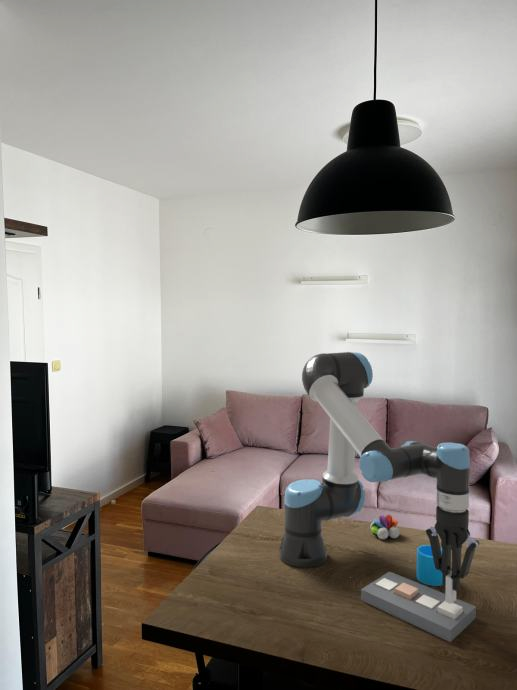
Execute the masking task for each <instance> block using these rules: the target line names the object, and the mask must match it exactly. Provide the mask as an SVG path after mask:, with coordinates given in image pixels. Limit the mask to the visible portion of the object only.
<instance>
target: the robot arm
mask: <svg viewBox="0 0 517 690" xmlns="http://www.w3.org/2000/svg"><path fill="white" fill-rule="evenodd" d="M373 375H374V374H373V369H372V365H371V362H370V361H369V359H368V358H367V356H365V355H364V354H362V353H360V352H354V351H353V352H352V351H343V352H332V353H331V352H329V353H323V352H322V353H319V354H315V355H313V356H312V357H310V359H308V360H307V362H306V363H305V364H304V366H303V368H302V373H301V381H302V385H303V389H304V390H305V392H306V394H307V396H309V398H310V399H311V400H313V401H314V402H318V404H319V405H320V407H321V408H322V409H323V410H324V411H325V413H326V414H327V416H328V417H329V430H328V431H329V434H328V435H329V436H328V450H327V451H328V452H327V453H328V454H327V455H328V456H327V469H326V470H325V471H324V472H323V473H322V476H321V477H322V479H321V480H322V481H319V480H316V479H311V478H308V479H305V478H304V479H299V480H298V479H297V480H296V481H293V482H291V483H289V484H288V486H286V488H285V491H284V532H283V533H284V534H283V537H282V539H281V543H280V546H279V555H278V557H279V559H280V560H281V561H282V562H283V563H284V564H287V565H289V566H292V567H295V568H296V567H297V568H313V567H318V566H321V565H323V564H324V563H326V561H327V559H328V549H327V546H326V544H325V540H324V536H323V531H322V530H323V529H322V527H323V522H327V521H330V520H331V521H333V520H336V519H341V518H348V517H351V516H353V515H356V514H358V513H360V512H361V510H362V509H363V508H364V505H365V502H366V501H365V500H366V492H365V489H364V485H363V484H362V481H360V479H359V476H358V474H356V473H355V463H356V462H355V461H356V454H357V455H358V456H360V457H359V462H358V464H359V465H358V466H359V467H358V468H359V469H360V470H361V475H362V477H363V478H364V480H366V481H368V482H370V483H381V482H383V483H385V482H388V481H392V480H396V479H401V478H408V477H413V476H419V475H425V476H428V477H430V478H433V479H436V497H435V499H436V503H435V504H436V505H437V506H436V508H435V520H436V521H435V524H434V526H430V527H429V528H427V529H426V530H425V533H426V536H427V538H428V539H429V545H431V550H432V555H433V560H434V565H435V568H436V569H437V570H440V571H441V572H442V584H443V585H442V586H443V587H445V592H444V594H445V602H447V603H450V604H452V603H453V602H454V601H455V600H456V599H457V592H458V591H459V589H460V587H461V579H465V578H466V577H467V576H468V575H469V573H470V568H471V565H472V561H473V558H474V555H475V551H476V549H477V548H478V547H479V546H480V542H479V540H475V539H473V537H471V532H470V531H469V522H470V521H469V520H470V519H469V518H470V515H469V514H470V511H469V509H470V473H471V472H470V471H471V469H470V468H471V460H470V459H471V458H470V457H471V456H470V449H469V448H468V446H466V445H465V444H463V443H458V442H457V443H455V442H451V441H450V442H442V443H438V445H437V446H432V445H429V444H427V443H426V444H425V443H424V442H421V441H414V440H407V441H406V442H404V444H402V445H401V446H399V447H390V445H389V444H388V443H387V442H386V441H385V440H384V439H383V437H382V436H381V435H380V434H379V433H378V432H377V430H376V429H375V428H374V427H373V425H372V424H371V423H370V422H369V420H368V419H366V418H365V416H364V415H363V414H362V412H361V411H360V410H359V401H360V400H361V399H362V398H363V397H364V391H365V389H366V388H368V387H370V385H371V384H372V381H373V377H374V376H373ZM464 543H466V547H467V548H466V549H465V553H464V556H463V560H462V548H463V544H464ZM441 548H442V552H441Z"/></svg>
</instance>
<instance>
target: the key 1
mask: <svg viewBox="0 0 517 690" xmlns="http://www.w3.org/2000/svg"><path fill="white" fill-rule="evenodd" d="M375 586H378V587H380V588H382V589H385V590H387V591H389V592H390V591H392V590H393V589H395V588H396V587H398V584H397V583H395V582H393V581H390V580H388V579H385V578H383V579H382V580H380V581H379V582H377V583H376V584H375Z"/></svg>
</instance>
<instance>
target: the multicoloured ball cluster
mask: <svg viewBox="0 0 517 690" xmlns="http://www.w3.org/2000/svg"><path fill="white" fill-rule="evenodd" d="M378 518H379V519H378V520H379V521H378V520H377V519H375V518H374V519H373V522H371V524H370V527H369V528H370V531H371V532H372V533H373V534H376V535H377V537H378V539H379V540H386V539H387V538H388V537H389V538H391V539H397V538H398V537H399V536H400V529H399V528H398V527H397V526H398V523H399V522H398V520H397V519H394V518H393V516H392V515H391V514H387V515H383V514H380V515H379V517H378Z"/></svg>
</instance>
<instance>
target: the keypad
mask: <svg viewBox="0 0 517 690" xmlns="http://www.w3.org/2000/svg"><path fill="white" fill-rule="evenodd" d="M383 578H385V579H388V580H390V581H393V582H395V583H397V584H398V586H399V585H401V584H402V583H406V584H408V585H411V586H413V587H416V588H418V595H417V596H416V597H414V598H413V599H412V600H407V599H405V598H403V597H401V596H398V595H396V594H395V589H393V590H392V591H390V592H389V591H387V590H385V589H382V588H380V587H378V586H375V584H376V583H377V582H379V581H380V580H382V579H383ZM423 595H426V596H428V597H431V598H433V599H436V600H438V601H440V604H442V603H443V602H444V601H445V592H444V593H443V592H441V591H439V590H436V589H434V588H431V587H429V586H427V585H425V584H423V583H422V584H421V583H419V582H417V581H414V580H411V579H409V578H407V577H404V576H401V575H400V574H396V573H394V572H392V571H388V572H386V573H385V574H383V575H381V576H380V577H378V578H377V579H375V580H374V581H372V582H370V583H369V584H368V585H366V586H364V587H363V588H361V589H360V601H361V602H364V603H366V604H368V605H370V606H372V607H374V608H377V609H378V610H381V611H383V612H385V613H386V614H390V615H391V616H393V617H396V618H397V619H400V620H402V621H404V622H406V623H407V624H411V625H412V626H415V627H416V628H419V629H422V630H423V631H425V632H428V633H429V634H432V635H434V636H436V637H438V638H440V639H442V640H444V641H446V642H449V643H452V641H453V640H455V638H457V636H458V635H459V634H461V633H462V632H463V631H464V630H465V629H466V628H467V627H468V626H469V625H470V624H471V623H472V622H473V621H475V620H476V618H477V606H476V605H473V604H470V603H468V602H466V601H463V600H461V599H458V598H456V600H455V601H454V602H453V603H454V604H457V605H459V606H462V607H463V614H462V615H460V616H459V617H458V618H457V619H456V620H453V619H451V618H449V617H446V616H444V615H442V614H439V613H437V607H438V606H439V605H440V604H439V605H438V606H436V607H435V608H434V609H433V610H430V609H428V608H426V607H423V606H421V605H419V604H417V603H415V601H416V600H417V599H419V598H420V597H421V596H423Z"/></svg>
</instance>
